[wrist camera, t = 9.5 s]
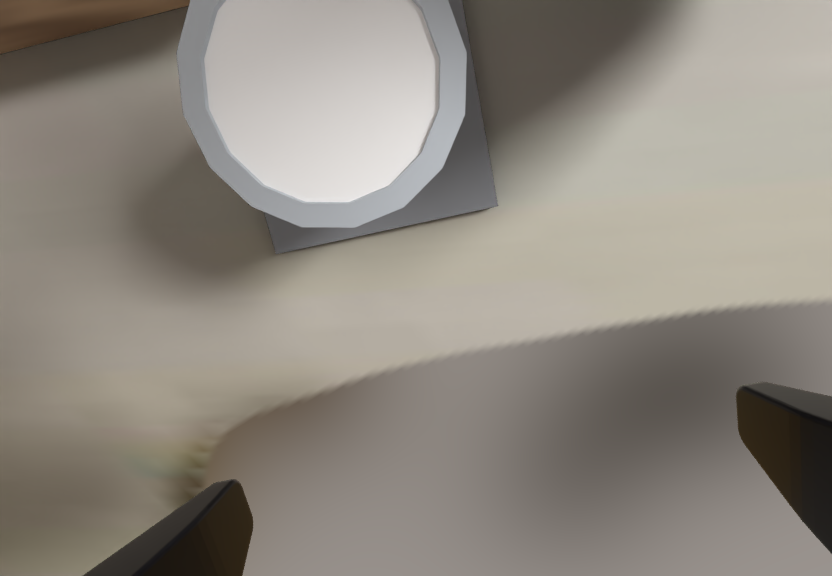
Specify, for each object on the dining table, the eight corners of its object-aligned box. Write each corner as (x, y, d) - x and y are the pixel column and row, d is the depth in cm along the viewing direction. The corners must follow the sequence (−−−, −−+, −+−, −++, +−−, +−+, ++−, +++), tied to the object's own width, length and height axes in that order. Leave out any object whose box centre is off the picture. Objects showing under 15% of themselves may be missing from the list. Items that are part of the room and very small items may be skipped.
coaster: (452, -46, 17) (452, -54, 17) (495, 204, 19) (498, 206, 19) (211, 15, 18) (204, 10, 17) (280, 251, 20) (276, 254, 19)
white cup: (339, 240, 19) (293, 282, 12) (230, 85, 18) (111, 38, 11) (487, 139, 18) (524, 126, 11) (383, -33, 17) (356, -164, 10)
